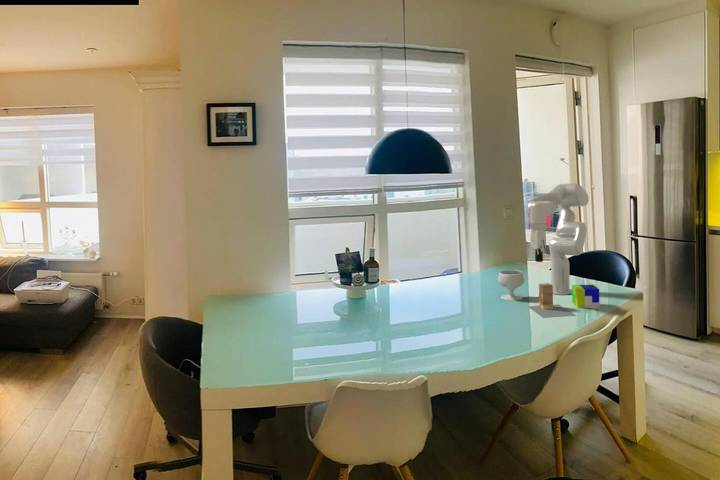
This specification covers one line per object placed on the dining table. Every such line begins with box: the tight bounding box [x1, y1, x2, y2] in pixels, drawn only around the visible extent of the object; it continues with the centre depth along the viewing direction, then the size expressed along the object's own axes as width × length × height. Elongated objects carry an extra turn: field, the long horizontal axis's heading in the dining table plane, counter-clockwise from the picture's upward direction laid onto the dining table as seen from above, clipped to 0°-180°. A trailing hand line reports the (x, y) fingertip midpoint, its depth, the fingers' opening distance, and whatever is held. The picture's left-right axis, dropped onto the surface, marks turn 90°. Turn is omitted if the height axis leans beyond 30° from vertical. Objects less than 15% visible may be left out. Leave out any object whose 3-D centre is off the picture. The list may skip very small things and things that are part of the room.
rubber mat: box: [527, 304, 577, 319], centre depth 221 cm, size 20×16×1 cm
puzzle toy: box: [571, 284, 600, 310], centre depth 226 cm, size 10×10×10 cm
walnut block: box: [538, 282, 554, 309], centre depth 226 cm, size 5×5×12 cm
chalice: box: [497, 269, 525, 301], centre depth 249 cm, size 14×14×15 cm
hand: (539, 261), depth 232 cm, fingers closed
